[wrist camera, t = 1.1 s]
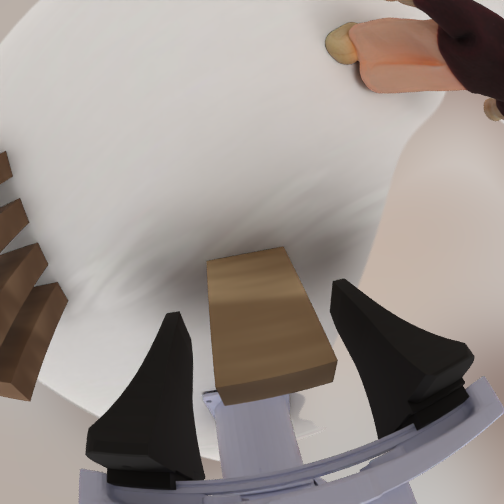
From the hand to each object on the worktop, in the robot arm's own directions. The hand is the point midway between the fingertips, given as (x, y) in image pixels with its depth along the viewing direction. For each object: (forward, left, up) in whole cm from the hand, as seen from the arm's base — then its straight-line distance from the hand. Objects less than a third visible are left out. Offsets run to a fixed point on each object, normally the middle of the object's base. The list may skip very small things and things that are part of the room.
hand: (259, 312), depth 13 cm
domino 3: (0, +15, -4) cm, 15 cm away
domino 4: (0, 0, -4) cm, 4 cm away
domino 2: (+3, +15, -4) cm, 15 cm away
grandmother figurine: (+11, -8, -4) cm, 14 cm away
